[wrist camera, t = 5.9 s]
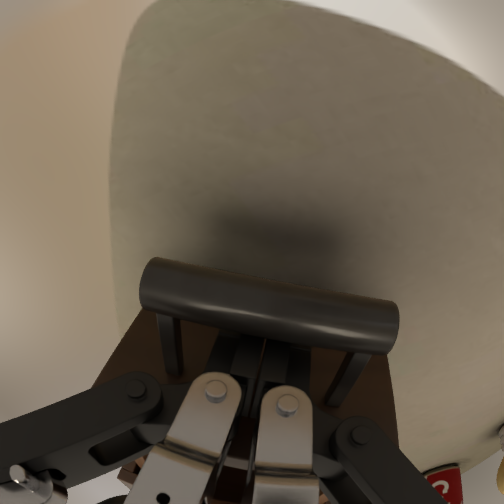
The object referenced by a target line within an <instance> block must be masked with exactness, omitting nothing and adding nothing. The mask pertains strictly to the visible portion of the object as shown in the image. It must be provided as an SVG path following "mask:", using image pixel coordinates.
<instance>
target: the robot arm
mask: <svg viewBox="0 0 504 504" xmlns="http://www.w3.org/2000/svg"><path fill="white" fill-rule="evenodd" d="M264 339H265V338H261V337H256V336H251V335H246V334H241V333H237V332H232V331H227V330H223V329H219V332H218V335H217V337H216V340H215V342H214V345H213V348H212V350H211V353H210V356H209V358H208V361H207V364H206V367H205V369H204V371H203V372H202V374H201V375H200V376H198V377H197V378H196V379H194V380H192V381H190V382H187V383H183V384H159V382H158V381H157V379H156V378H155V377H153V376H152V375H150V374H148V373H146V372H142V371H132V372H128V373H125V374H123V375H121V376H119V377H116V378H114V379H112V380H109V381H107V382H105V383H102V384H100V385H98V386H95V387H93V388H91V389H89V390H86V391H84V392H81V393H79V394H76V395H74V396H71V397H69V398H66V399H64V400H61V401H59V402H56V403H54V404H51V405H49V406H46V407H44V408H41V409H38V410H36V411H33V412H30V413H28V414H25V415H22V416H20V417H17V418H14V419H11V420H8V421H5V422H2V423H0V504H66V503H67V499H68V494H67V493H68V492H67V489H68V488H71V487H73V486H76V485H79V484H81V483H83V482H86V481H89V480H91V479H94V478H96V477H99V476H101V475H103V474H106V473H108V472H110V471H112V470H115V469H117V468H119V467H121V466H124V465H126V464H128V463H130V462H132V461H134V460H136V459H138V458H140V457H142V456H145V455H147V454H149V455H148V457H147V459H146V460H145V462H144V464H143V466H142V468H141V470H140V472H139V474H138V476H137V478H136V480H135V482H134V484H133V486H132V488H131V490H130V492H129V493H128V495H121V496H116V497H112V498H109V499H106V500H104V501H102V502H100V503H97V504H211V502H212V499H213V497H214V494H215V490H216V487H217V484H218V481H219V478H220V475H221V473H222V470H223V467H224V464H225V462H226V459H227V456H228V453H229V451H230V448H231V445H232V442H233V439H234V436H235V435H236V433H237V431H238V427H239V423H240V419H241V416H245V417H248V413H249V408H250V404H251V399H252V395H253V390H254V386H255V381H256V377H257V372H258V368H259V363H260V358H261V353H262V349H263V344H264ZM311 351H312V346H305V345H299V344H294V343H288V342H282V341H277V340H271V339H266V343H265V348H264V352H263V357H262V362H261V367H260V372H259V376H258V381H257V386H256V390H255V395H254V400H253V404H252V409H251V413H250V417H251V418H256V420H255V425H254V429H253V433H252V437H251V442H250V450H249V457H248V465H247V473H246V480H245V487H244V493H243V497H242V502H241V504H319V488H320V489H321V491H322V492H323V493H324V495H325V496H326V497H327V498H328V500H329V501H330V502H331V504H448V502H447V501H446V500H445V499H444V498H443V497H442V496H441V495H440V494H439V493H438V492H437V490H436V489H435V488H434V487H433V486H432V485H431V484H430V483H429V482H428V481H427V479H426V478H425V477H424V476H423V475H422V474H421V473H420V472H419V471H418V469H417V468H416V467H415V466H414V465H413V464H412V463H411V462H410V461H409V459H408V458H407V457H406V456H405V455H404V454H403V453H402V452H401V450H400V449H399V448H398V447H397V446H396V445H395V444H394V443H393V441H392V440H391V439H390V438H389V437H388V436H387V435H386V433H385V432H384V431H383V430H382V429H381V428H380V427H379V426H378V424H377V423H376V422H375V421H373V420H372V419H370V418H368V417H365V416H351V417H348V418H346V419H344V420H343V419H340V418H338V417H335V416H333V415H330V414H328V413H326V412H324V411H322V410H321V409H320V408H319V407H317V406H316V404H315V403H314V402H313V400H312V398H311V396H310V389H309V387H310V372H311V354H312V353H311Z"/></svg>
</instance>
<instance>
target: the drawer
mask: <svg viewBox="0 0 504 504" xmlns="http://www.w3.org/2000/svg"><path fill="white" fill-rule="evenodd" d="M139 299H140V303H141V306H142V307H143V308H142V310H141V311H140V313H139V314H138V316H137V317H136V318H135V320H134V321H133V323H132V324H131V326H130V328H129V329H128V331H127V332H126V334H125V335H124V337H123V338H122V340H121V341H120V343H119V344H118V346H117V347H116V349H115V351H114V352H113V354H112V355H111V357H110V358H109V360H108V362H107V363H106V365H105V366H104V368H103V370H102V371H101V373H100V374H99V376H98V378H97V379H96V381H95V383H94V384H93V386H92V387H91V388H93V387H95V386H98V385H100V384H102V383H105V382H107V381H109V380H112V379H114V378H116V377H119V376H121V375H123V374H125V373H128V372H132V371H142V372H146V373H148V374H150V375H152V376H153V377H155V378H156V379H157V381H158V382H159V384H183V383H187V382H190V381H192V380H194V379H196V378H197V377H198V376H200V375H201V374H202V372H203V371H204V369H205V367H206V364H207V361H208V358H209V356H210V353H211V350H212V348H213V345H214V342H215V340H216V337H217V335H218V332H219V329H223V330H227V331H232V332H237V333H241V334H246V335H251V336H256V337H261V338H265V339H264V344H263V349H262V353H261V358H260V363H259V368H258V372H257V377H256V381H255V386H254V390H253V395H252V399H251V404H250V408H249V413H248V417H245V416H241V419H240V423H239V427H238V431H237V433H236V435H235V436H234V439H233V442H232V445H231V448H230V451H229V453H228V456H227V459H226V462H225V464H224V467H223V470H222V473H221V475H220V478H219V481H218V484H217V487H216V490H215V494H214V497H213V498H214V499H218V500H223V501H227V502H232V503H237V504H241V502H242V497H243V493H244V487H245V480H246V473H247V465H248V457H249V450H250V442H251V437H252V433H253V429H254V425H255V420H256V418H251V417H250V413H251V409H252V404H253V400H254V395H255V390H256V386H257V381H258V376H259V372H260V367H261V362H262V357H263V352H264V348H265V343H266V339H271V340H277V341H282V342H288V343H294V344H299V345H305V346H312V351H311V353H312V354H311V372H310V387H309V389H310V396H311V398H312V400H313V402H314V403H315V404H316V406H317V407H319V408H320V409H321V410H322V411H324V412H326V413H328V414H330V415H333V416H335V417H338V418H340V419H343V420H344V419H346V418H348V417H351V416H365V417H368V418H370V419H372V420H373V421H375V422H376V423H377V424H378V426H379V427H380V428H381V429H382V430H383V431H384V432H385V433H386V435H387V436H388V437H389V438H390V439H391V440H392V441H393V443H394V444H395V445H396V446H397V447H398V448H399V442H398V431H397V421H396V412H395V404H394V396H393V389H392V382H391V376H390V370H389V364H388V358H387V354H388V353H389V352H390V351H391V349H392V348H393V346H394V343H395V341H396V338H397V334H398V330H399V310H398V307H397V305H396V303H394V302H393V301H389V300H382V299H376V298H370V297H365V296H359V295H353V294H347V293H341V292H336V291H330V290H324V289H319V288H313V287H308V286H302V285H297V284H291V283H286V282H281V281H275V280H270V279H265V278H259V277H254V276H249V275H244V274H239V273H234V272H229V271H224V270H219V269H214V268H209V267H204V266H199V265H194V264H189V263H184V262H179V261H175V260H170V259H165V258H160V257H155V258H152V259H151V260H150V261H149V262H148V263H147V265H146V267H145V269H144V271H143V274H142V277H141V281H140V287H139ZM148 455H149V454H147V455H145V456H142V457H140V458H138V459H136V460H135V462H136V463H137V464H138V466H139V467H140V468H142V466H143V464H144V462H145V460H146V459H147V457H148ZM327 501H329V500H328V498H327V497H326V496H325V495H324V493H323V492H322V491H321V489H320V488H319V504H323V503H325V502H327Z"/></svg>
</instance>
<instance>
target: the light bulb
mask: <svg viewBox="0 0 504 504" xmlns="http://www.w3.org/2000/svg"><path fill="white" fill-rule="evenodd" d="M499 438H500V443H501V445H502V451H504V426H503V427H502V428H501V430H500V431H499ZM497 486H498V489H499V491H500V492H501V493H502V494H504V457H503V459H502V462H501V464H500V467H499V469H498V473H497Z"/></svg>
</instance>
